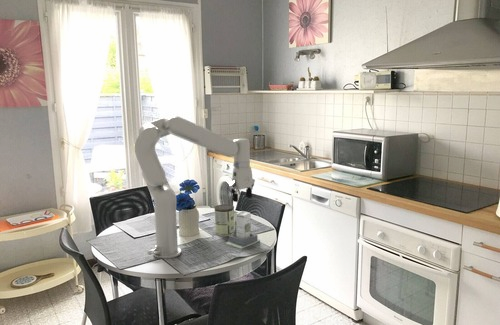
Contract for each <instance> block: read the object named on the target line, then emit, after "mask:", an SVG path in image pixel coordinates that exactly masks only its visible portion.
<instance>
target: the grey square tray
mask: <svg viewBox="0 0 500 325" xmlns="http://www.w3.org/2000/svg"><path fill="white" fill-rule="evenodd" d="M250 233H251V236H250V237H248V238H246V239H241V238H238V237H235V233H234V234H232V235H229V236H228V242H231V243H234V244H237V245H240V246H243V247H244V246H246V245H249V244H251V243H254V242H256V241H258V239H259V236H258V234H255V233H252V232H250ZM256 243H257V242H256ZM254 244H255V243H254ZM249 246H250V245H249Z"/></svg>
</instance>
